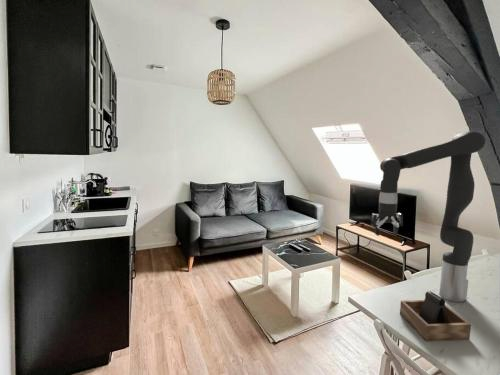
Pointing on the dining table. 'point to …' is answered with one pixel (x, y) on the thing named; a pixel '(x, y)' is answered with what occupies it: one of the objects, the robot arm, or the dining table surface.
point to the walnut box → (435, 332)
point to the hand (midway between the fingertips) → (386, 234)
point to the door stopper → (433, 309)
